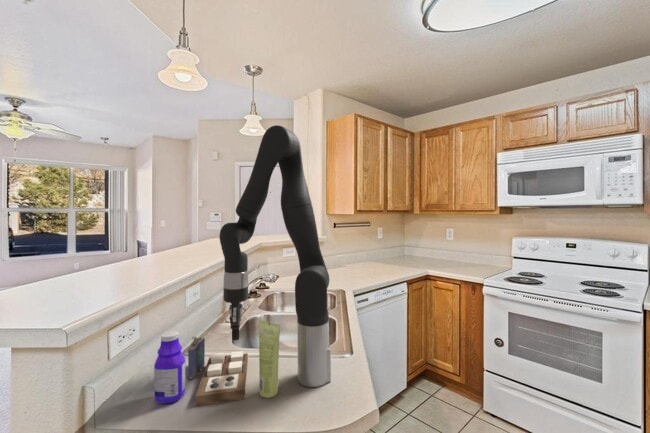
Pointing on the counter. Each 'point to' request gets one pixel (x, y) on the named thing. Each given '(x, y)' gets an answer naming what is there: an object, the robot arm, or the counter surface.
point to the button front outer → (214, 370)
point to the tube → (268, 358)
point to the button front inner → (235, 367)
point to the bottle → (169, 369)
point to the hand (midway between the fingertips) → (235, 338)
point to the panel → (222, 384)
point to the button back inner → (237, 356)
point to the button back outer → (218, 358)
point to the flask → (196, 357)
